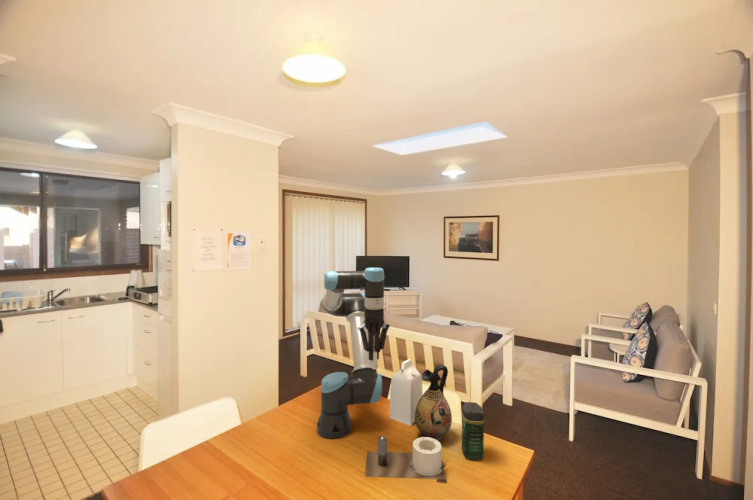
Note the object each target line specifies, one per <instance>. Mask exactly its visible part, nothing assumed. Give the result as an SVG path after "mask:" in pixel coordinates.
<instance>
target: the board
mask: <svg viewBox="0 0 753 500" xmlns="http://www.w3.org/2000/svg"><path fill="white" fill-rule="evenodd" d="M412 458H413V452H399V451H398V452H396V451H387V465H386V466H384V467H381V466H379V465H378V451H369V450H368V451H367V452H366V460H365V467H364V478H365V477H367V478H368V477H369V478H388V479H389V478H395V479H397V478H398V479H420V480H421V479H422V480H427V479H428V480H436V481H435V482H437V483H447V475H446V471H445V467H444V468H443V471H442V472H441V473H440V474H439V475H437V476H433V477H426V476H421V475H419V474H417V473H415V472H414V471H413V470H412V469H411V467H410V461H411V459H412ZM441 461H442V463H443V458H442V457H441ZM443 464H444V463H443Z"/></svg>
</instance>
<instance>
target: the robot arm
mask: <svg viewBox="0 0 753 500" xmlns="http://www.w3.org/2000/svg"><path fill="white" fill-rule="evenodd" d="M323 279H324V280H323V281H324V282H323V284H324V289H325V290H326V292H325V294H323V296H322V299H321V306H322V308H323V310H324V311H325V312H326V313H328V314H329V315H332V316H333V317H334V316H335V317H345V319H346V321H347V322H348V323H349V329H350V339H351V347H352V348H351V351H352V361H353V369H352V371H351V372H350V375H349V373H347V372H346V371H345V372H344V371H343V372H342V371H335V372H332V373H329V374H327V375H325V376H324V377H323V378H322V380H321V385H320V393H321V395H320V414H319V417H318V420H317V423H316V432H317V433H316V434H318V435H319V436H321V437H323V438H324V439H325V438H326V439H331V440H332V439H333V440H334V439H340V438H344V437H346V436H348V435H349V434H351V431H352V430H353V422H352V419H351V416H350V413H349V406H351V405H352V406H354V405H362V404H363V405H364V404H371V403H377V402H379V401H380V400H381V397H382V392H383V378H382V374H381V373H378V371H377V369H378V360H379V359H380V352H381V351H382V350H384V348H385V342H386V339H387V334H388V331H389V329H390V326H391V325H390V324H388V323H387V322H385V320H384V317H385V314H384V313H385V309H384V306H385V305H384V304H385V271H384V269H383V268H382V267H366V268H365V270H332V271H330V270H329V271H326V272H325V273H324V278H323ZM345 290H364V292H363V293H362V292H355V293H353V292H352V293H349V292H347V293H345Z"/></svg>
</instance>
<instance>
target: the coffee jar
mask: <svg viewBox="0 0 753 500" xmlns="http://www.w3.org/2000/svg"><path fill="white" fill-rule="evenodd" d="M461 408H462V409H461V411H462V413H461V414H462V415H461V417H462V419H461V421H462V422H461V423H462V424H461V450H462V451H461V452H462V454H463V457H465V458H466V459H469V460H472V461H479V460H482V459H483V458H484V445H485V444H484V443H485V442H484V440H485V439H484V438H485V437H484V436H485V434H484V433H485V412H484V409H483V407H482V406H481V405H479V404H478V403H477V402H472V401H467V402H465V403H464V404H462V407H461Z"/></svg>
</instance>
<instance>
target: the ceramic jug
mask: <svg viewBox="0 0 753 500" xmlns="http://www.w3.org/2000/svg"><path fill="white" fill-rule="evenodd" d="M440 371H442V375H441V376H440V375H439V372H440ZM448 374H449V370H448V367H447V366H446V365H444V364H438V365H436V366H435V367H434V369H433V371H431V370H430V369H425V370H424V371H423V372H422V374H421V376H422V381H424V382H429V383H430V385H429V386H428V388H427V389H426V391H424V392H423V396H422V397H421V398H420V400H419V402H418V404H417V406H416V410H415V422H414V423H415V426H416V428H417V429H418V430H419V432H420V435H421V437H430V438H433V439H436V440H437V441H438V442H440V441H441V440H442V439H443V438H444V436H445V435H446V433H447V432H449V430H450V428H451V426H452V420H453V419H452V418H453V417H452V416H453V415H452V411H451V407H450V403H449V402H448V400H447V399H446V397H445V395H444V390H445V389H444V388H445V385H446V381H447V378H448Z"/></svg>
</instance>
